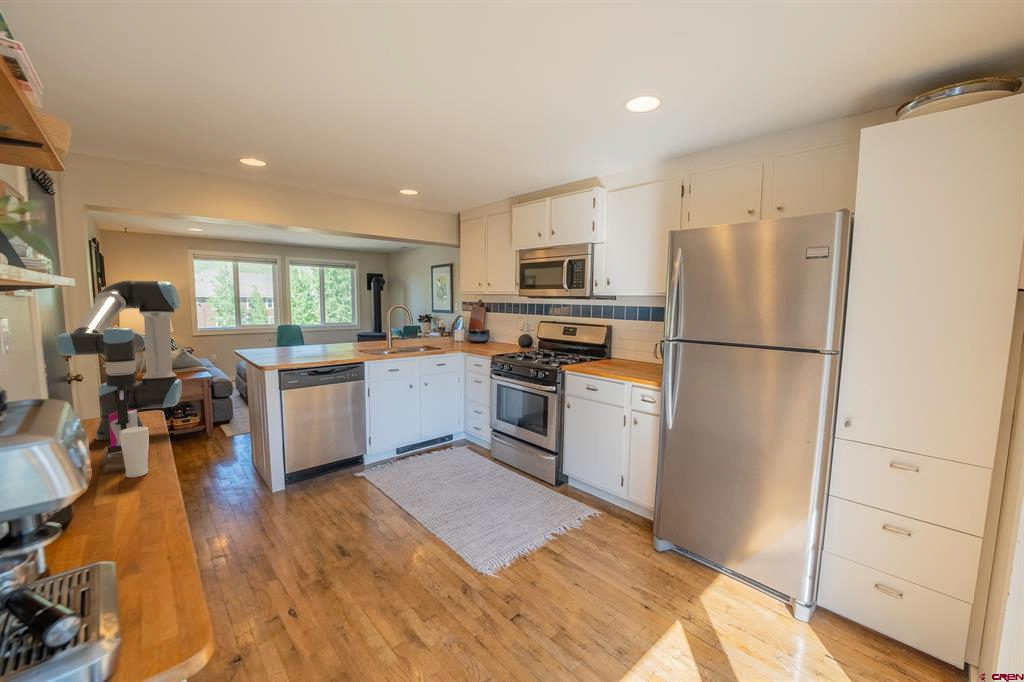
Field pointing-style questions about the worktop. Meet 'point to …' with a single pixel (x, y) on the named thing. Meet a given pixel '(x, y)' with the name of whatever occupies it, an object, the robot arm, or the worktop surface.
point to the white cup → (135, 450)
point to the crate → (113, 460)
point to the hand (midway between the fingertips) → (125, 439)
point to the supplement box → (114, 428)
